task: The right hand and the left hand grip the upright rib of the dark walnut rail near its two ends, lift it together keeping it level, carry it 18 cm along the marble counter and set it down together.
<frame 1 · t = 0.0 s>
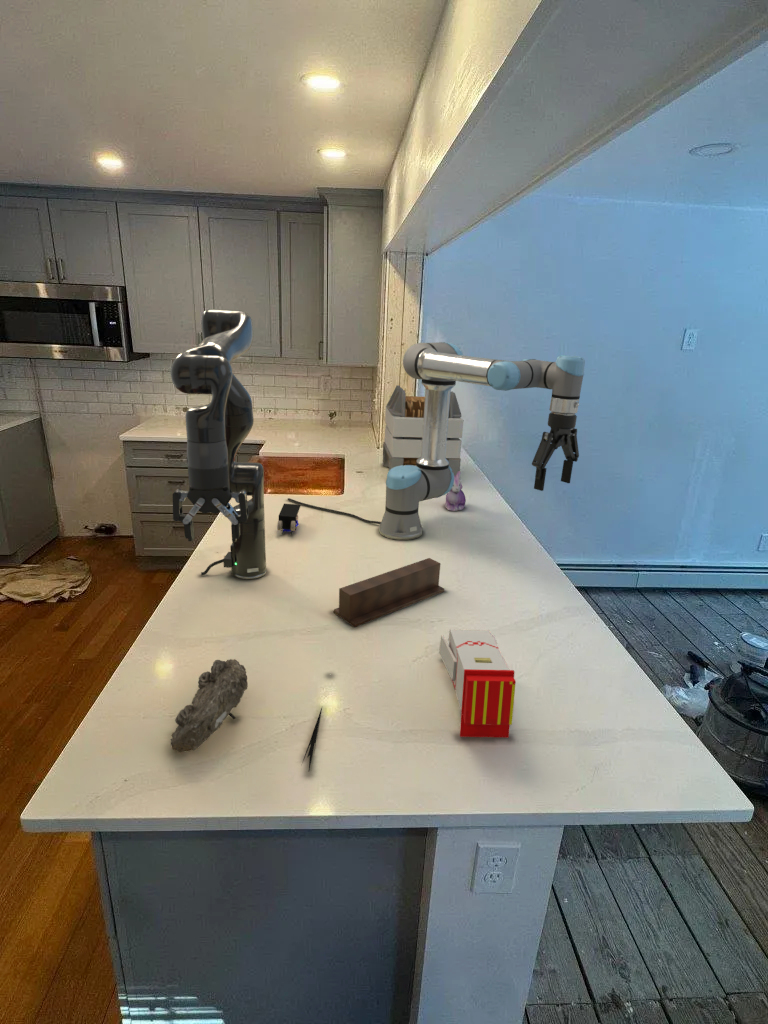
left hand: (213, 540, 114), 29 cm above the counter, fingers open, 8 cm apart
right hand: (552, 485, 166), 28 cm above the counter, fingers open, 13 cm apart
figurine: (454, 508, 229), on the counter
fossil: (215, 716, 108), on the counter
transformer: (418, 473, 275), on the counter
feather: (319, 719, 109), on the counter
toy: (471, 691, 119), on the counter
figurine character: (289, 530, 199), on the counter
rail: (391, 601, 154), on the counter
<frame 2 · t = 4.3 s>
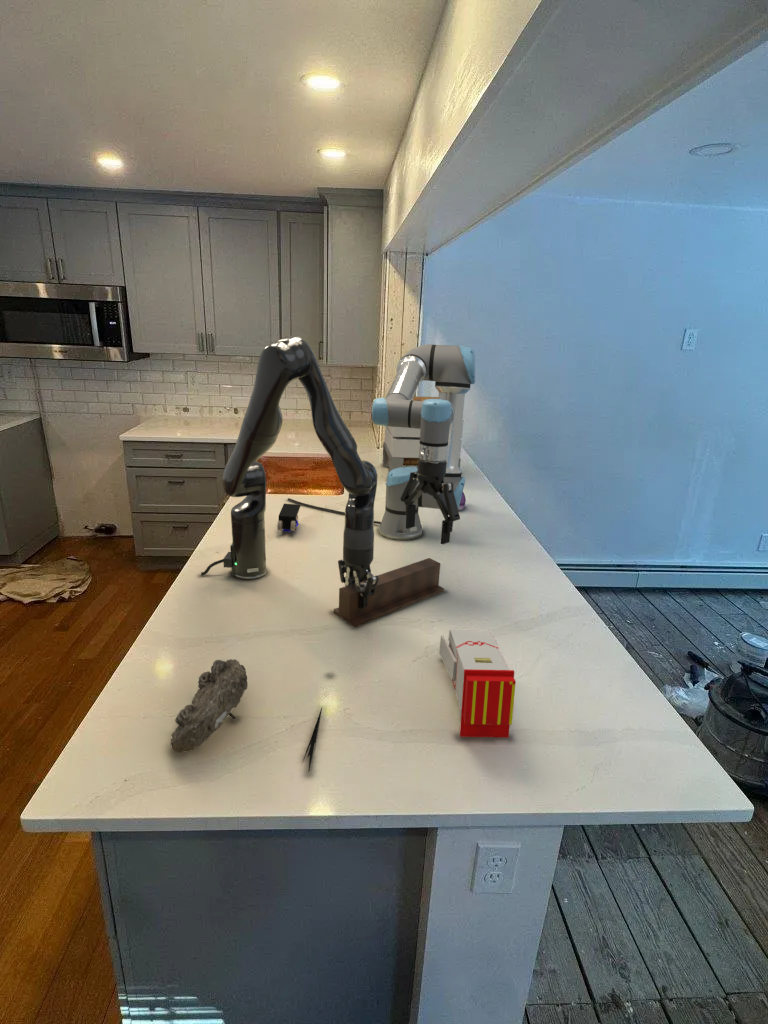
left hand: (356, 603, 145), 3 cm above the counter, fingers closed on rail, 4 cm apart
right hand: (427, 535, 155), 17 cm above the counter, fingers open, 13 cm apart
rail: (391, 601, 154), on the counter, touching left hand
everything else where it was.
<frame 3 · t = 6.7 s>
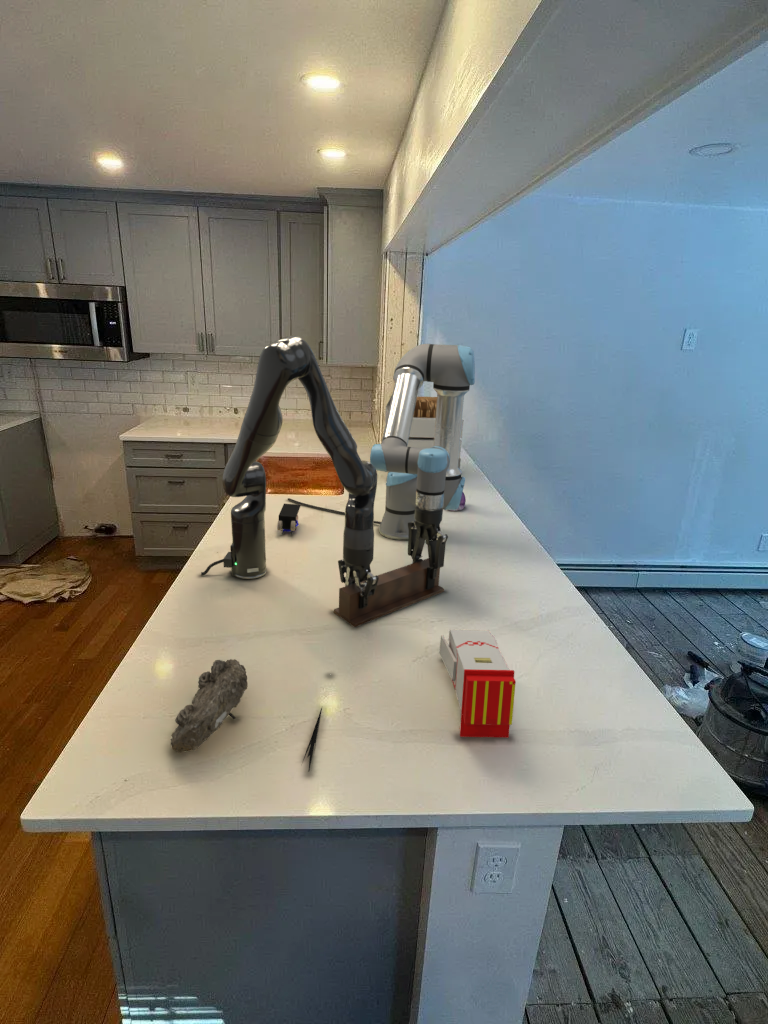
left hand: (356, 603, 145), 3 cm above the counter, fingers closed on rail, 4 cm apart
right hand: (423, 584, 160), 2 cm above the counter, fingers closed on rail, 4 cm apart
rail: (391, 601, 154), on the counter, touching right hand, left hand
everything else where it was.
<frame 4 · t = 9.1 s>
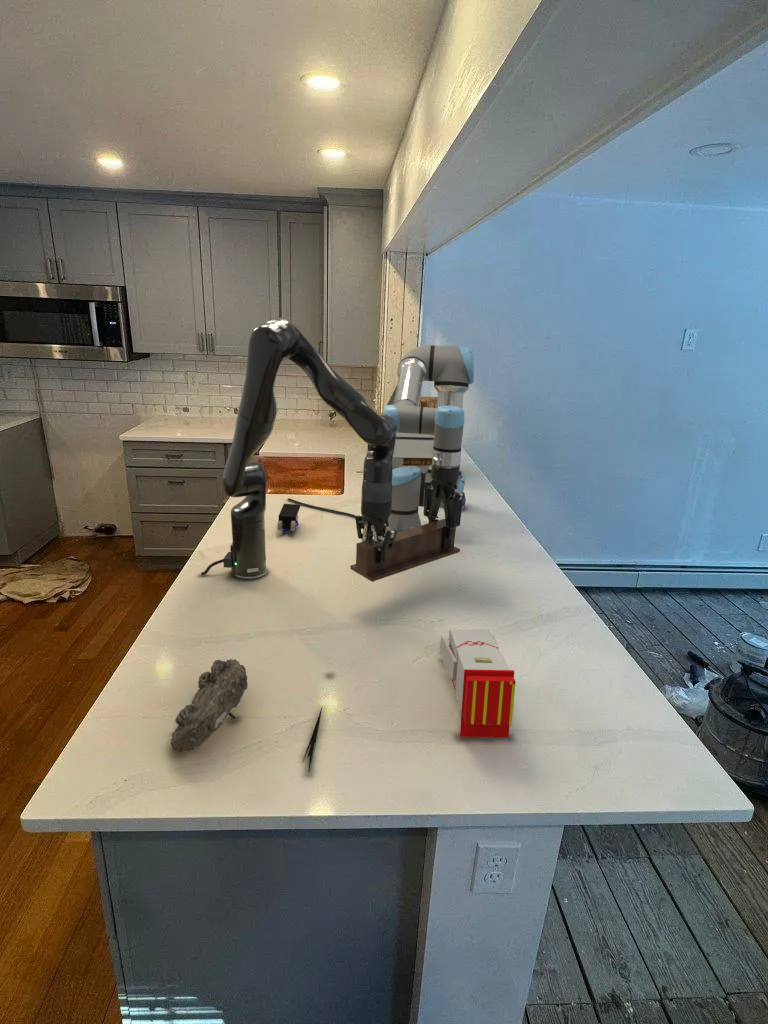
left hand: (373, 559, 145), 14 cm above the counter, fingers closed on rail, 4 cm apart
right hand: (439, 544, 160), 13 cm above the counter, fingers closed on rail, 4 cm apart
rail: (407, 560, 153), point 11 cm above the counter, touching right hand, left hand
everything else where it was.
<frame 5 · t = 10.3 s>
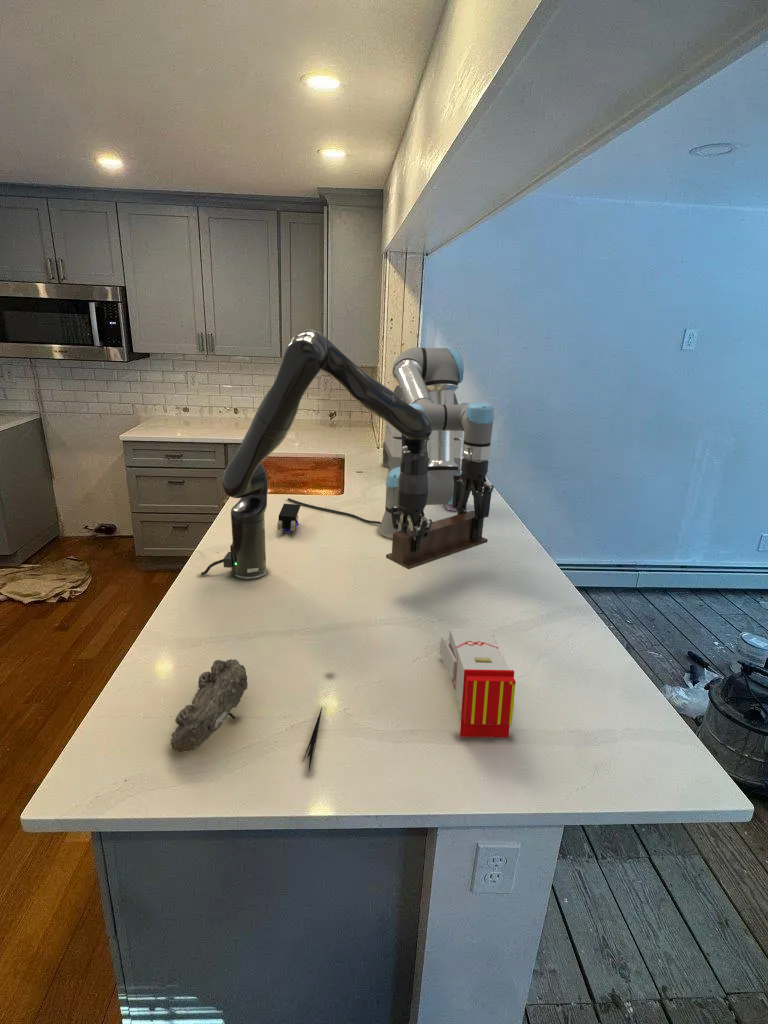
left hand: (408, 548, 152), 14 cm above the counter, fingers closed on rail, 4 cm apart
right hand: (467, 535, 168), 13 cm above the counter, fingers closed on rail, 4 cm apart
rail: (438, 549, 161), point 11 cm above the counter, touching right hand, left hand
everything else where it was.
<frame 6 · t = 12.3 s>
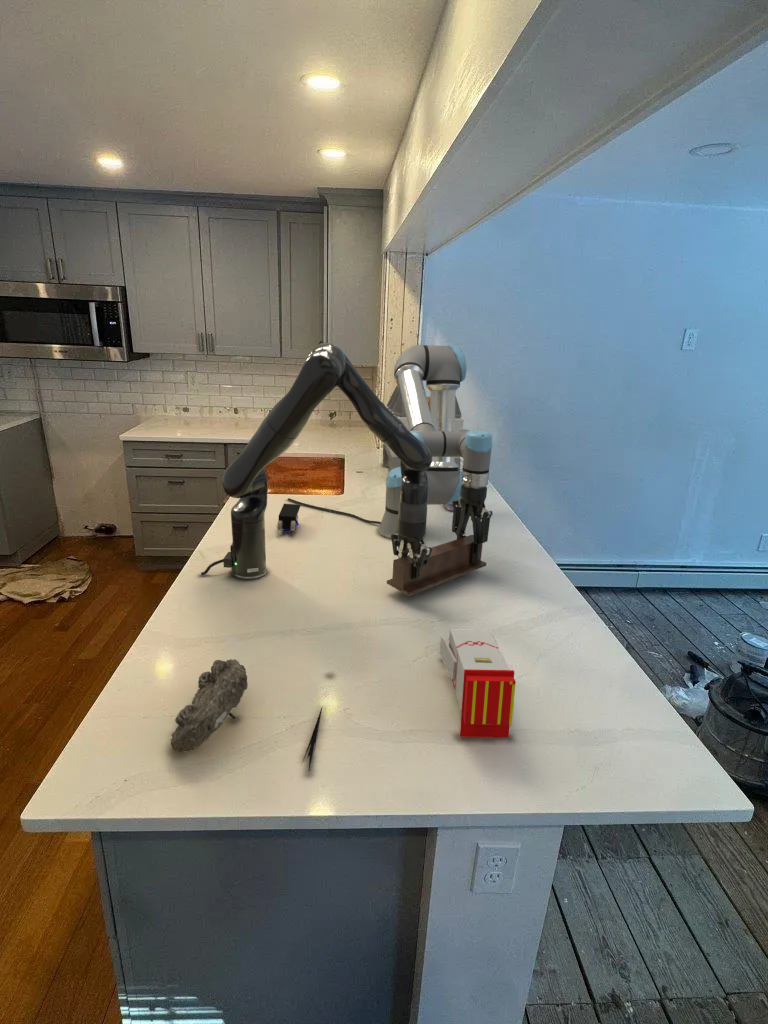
left hand: (409, 574, 155), 6 cm above the counter, fingers closed on rail, 4 cm apart
right hand: (466, 559, 171), 5 cm above the counter, fingers closed on rail, 4 cm apart
rail: (438, 574, 164), point 3 cm above the counter, touching right hand, left hand
everything else where it was.
when the right hand's fingers open (2 cm above the counter, at t = 13.9 s): rail stays where it is, on the counter.
when the left hand's fingers open (4 cm above the counter, at t = 14.1 s): rail stays where it is, on the counter.
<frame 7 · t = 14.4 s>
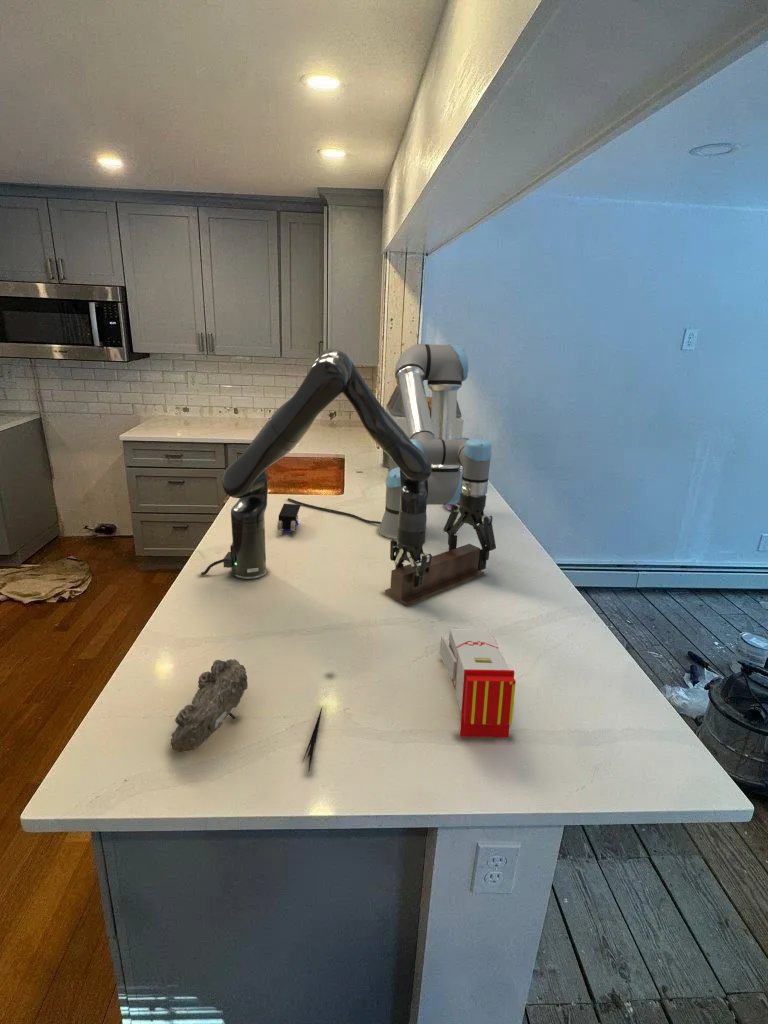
left hand: (408, 581, 156), 4 cm above the counter, fingers open, 7 cm apart
right hand: (466, 562, 171), 4 cm above the counter, fingers open, 11 cm apart
rail: (436, 583, 165), on the counter
everything else where it was.
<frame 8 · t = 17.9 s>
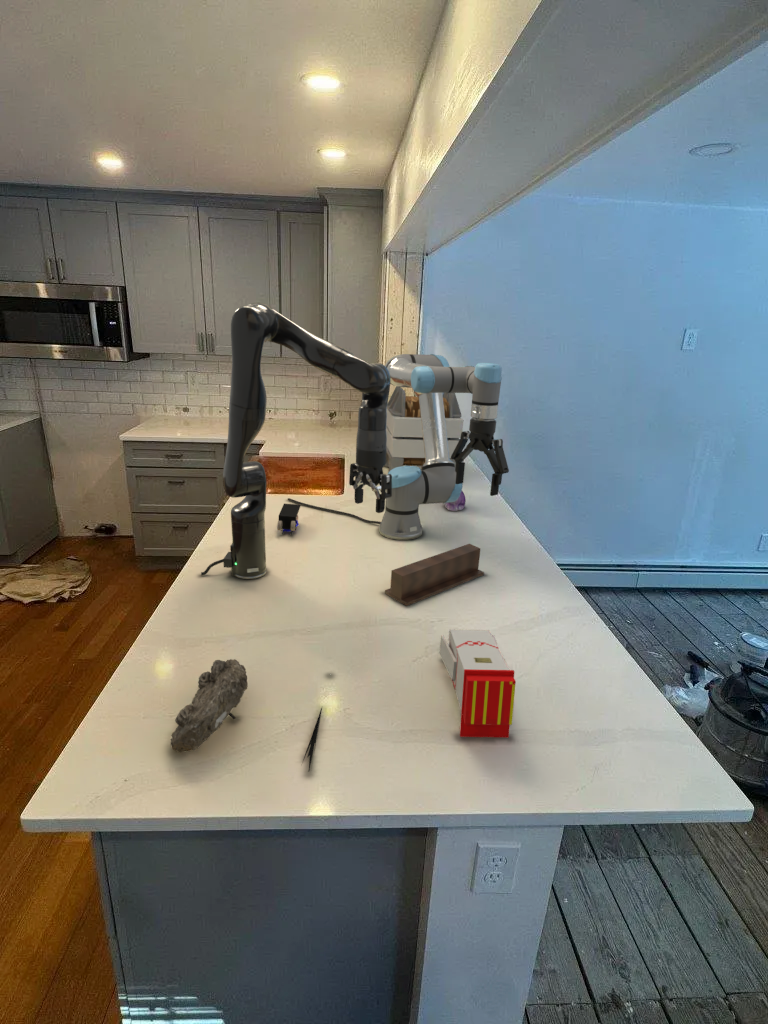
left hand: (369, 507, 146), 26 cm above the counter, fingers open, 8 cm apart
right hand: (476, 489, 170), 25 cm above the counter, fingers open, 13 cm apart
nothing on the counter moved.
at the end: rail inside the target area (0.4 cm from its centre), on the counter; both hands held the rail at the same time; rail never tilted more than 1° during the clip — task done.
